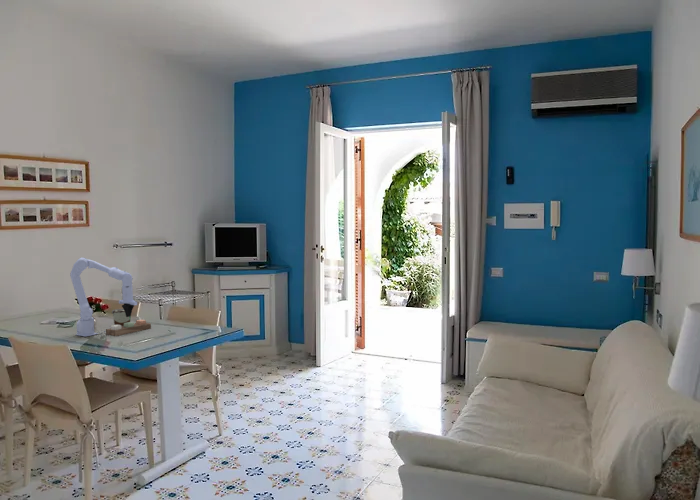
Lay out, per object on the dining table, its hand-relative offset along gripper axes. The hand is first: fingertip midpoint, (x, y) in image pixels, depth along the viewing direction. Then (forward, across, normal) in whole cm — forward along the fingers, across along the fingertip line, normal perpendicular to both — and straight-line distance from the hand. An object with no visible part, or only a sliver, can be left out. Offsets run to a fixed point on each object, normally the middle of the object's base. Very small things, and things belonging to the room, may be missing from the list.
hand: (128, 316), depth 333 cm
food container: (+9, +18, -10) cm, 22 cm away
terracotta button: (+7, 0, -8) cm, 11 cm away
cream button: (+7, 0, +9) cm, 11 cm away
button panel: (+9, 0, 0) cm, 9 cm away
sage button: (+7, 0, 0) cm, 7 cm away
